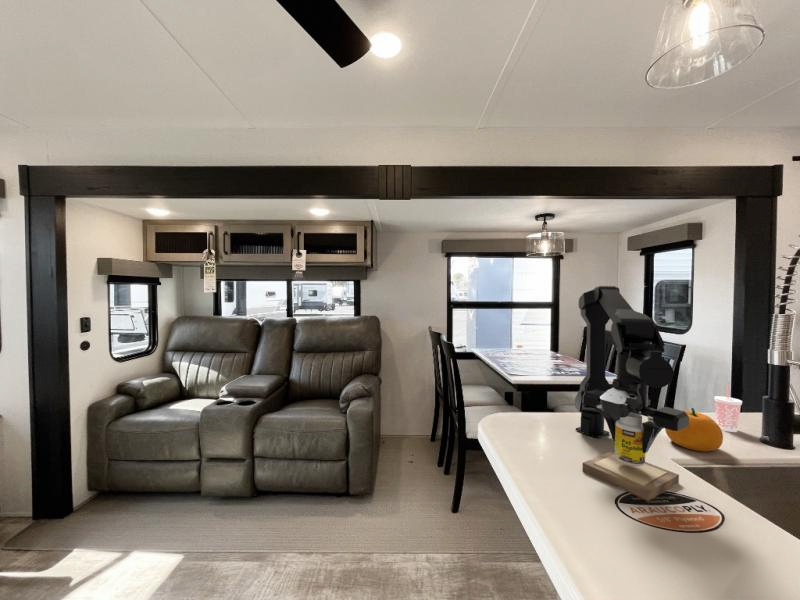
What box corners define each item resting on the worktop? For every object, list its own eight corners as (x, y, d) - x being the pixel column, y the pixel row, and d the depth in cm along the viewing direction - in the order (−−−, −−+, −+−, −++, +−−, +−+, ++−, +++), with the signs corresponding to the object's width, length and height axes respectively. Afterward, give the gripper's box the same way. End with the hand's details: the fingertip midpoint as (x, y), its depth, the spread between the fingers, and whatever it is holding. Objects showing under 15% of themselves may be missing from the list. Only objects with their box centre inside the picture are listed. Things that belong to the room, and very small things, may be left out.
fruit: (658, 443, 93) (659, 406, 92) (671, 433, 100) (673, 398, 100) (716, 461, 83) (718, 419, 83) (727, 448, 90) (728, 410, 90)
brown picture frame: (614, 457, 84) (614, 449, 84) (678, 483, 73) (678, 473, 73) (582, 470, 77) (582, 461, 77) (648, 501, 66) (648, 490, 66)
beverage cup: (711, 428, 104) (713, 381, 104) (714, 423, 108) (716, 378, 108) (740, 434, 99) (742, 386, 99) (741, 429, 104) (743, 382, 103)
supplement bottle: (617, 464, 74) (618, 416, 73) (612, 453, 79) (613, 408, 79) (648, 469, 71) (650, 420, 71) (641, 457, 77) (642, 412, 76)
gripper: (569, 370, 79) (567, 438, 79) (665, 391, 63) (662, 477, 63) (597, 365, 84) (595, 429, 85) (691, 384, 68) (688, 462, 69)
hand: (629, 447), depth 75 cm, fingers closed on supplement bottle, 5 cm apart
